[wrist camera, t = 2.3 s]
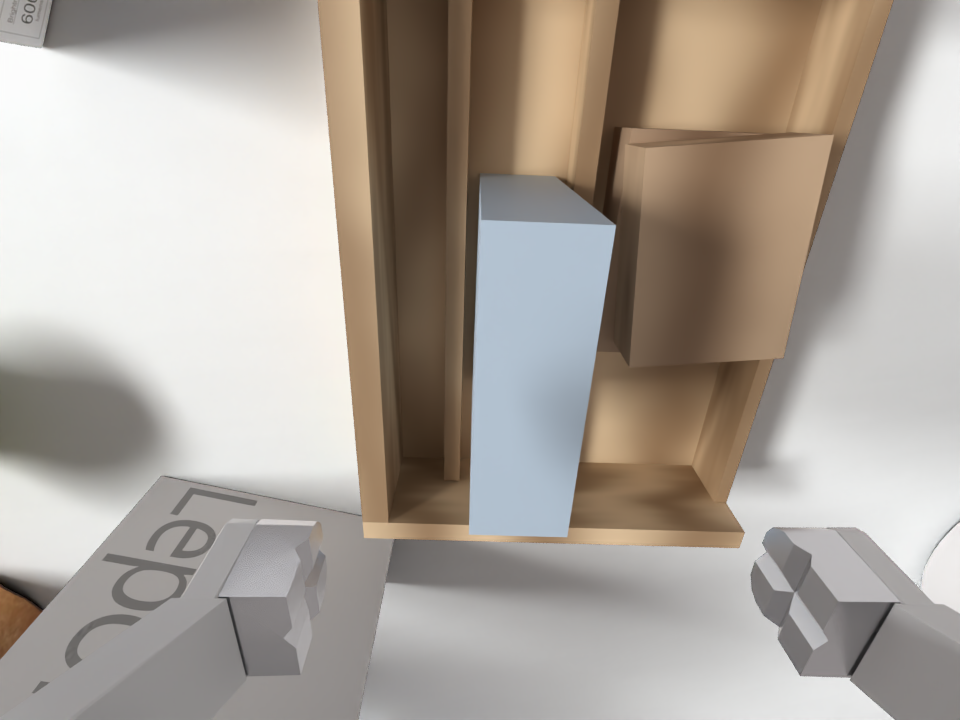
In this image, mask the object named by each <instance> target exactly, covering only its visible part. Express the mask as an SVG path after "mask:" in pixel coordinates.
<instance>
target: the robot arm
mask: <svg viewBox="0 0 960 720" xmlns="http://www.w3.org/2000/svg"><path fill="white" fill-rule="evenodd" d="M322 540H323V533H322V527H321V523H320V522H318V521H300V520H275V519H261V520H257V519H235V518H232V519H231V520H230V521H229V522H227V523H226V524H225V525H224V526H223V528H222V530H221V531H220V533H219V535H218V536H217V538H216V540H215V541H214V543H213V545H212V546H211V548H210V550H209V551H208V553H207V555H206V556H205V558H204V560H203V561H202V563H201V565H200V566H199V568H198V570H197V571H196V573H195V575H194V576H193V578H192V580H191V581H190V583H189V585H188V586H187V588H186V590H185V591H184V593H183V595H182V596H181V598H170V599H169V600H168V601H166V602H165V603H163V604H162V605H160V606H159V607H157V608H156V609H155V610H153V611H152V612H150V613H149V614H147V615H146V616H145V617H143V618H142V619H140V620H139V621H137V622H136V623H135V624H133V625H132V626H130V627H129V628H127V629H126V630H125V631H123V632H122V633H120V634H119V635H117V636H116V637H114V638H113V639H112V640H110V641H109V642H107V643H106V644H104V645H103V646H102V647H100V648H99V649H97V650H96V651H94V652H93V653H92V654H90V655H89V656H87V657H86V658H84V659H83V660H82V661H80V662H79V663H77V664H76V665H74V666H73V667H71V668H70V669H69V670H67V671H66V672H64V673H63V674H61V675H60V676H59V677H57V678H56V679H54V680H53V681H51V682H50V683H49V684H47V685H46V686H44V687H43V688H41V689H40V690H39V691H37V692H36V693H34V694H33V695H31V696H30V697H28V698H27V699H26V700H24V701H23V702H21V703H20V704H18V705H17V706H16V707H14V708H13V709H11V710H10V711H8V712H7V713H6V714H4V715H3V716H1V717H0V720H211V719H212V718H213V717H214V715H215V714H216V713H217V712H218V711H219V710H220V709H221V708H222V707H223V706H224V705H225V703H226V702H227V701H228V700H229V699H230V698H231V697H232V696H233V695H234V694H235V693H236V691H237V690H238V689H239V688H240V687H241V686H242V685H243V684H244V683H245V682H246V680H247V678H246V677H248V676H284V675H301V672H302V669H303V666H304V662H305V659H306V656H307V652H308V649H309V646H310V643H311V639H312V630H311V623H310V620H312V619H313V618H314V617H315V616H316V615H317V614H318V613H319V612H320V609H321V605H322V602H323V598H324V593H325V586H326V580H327V564H326V556H325V555H324V554H323V553H322V552H321V551H320V550H319V549H320V546H321V543H322ZM762 544H763V546H764V548H765V550H766V553H765V554H763V555H762V556H761V557H760V558H758V559H757V560H756V561H755V563H754V566H753V569H752V572H751V586H752V592H753V595H754V598H755V601H756V603H757V605H758V606H759V608H760V610H761V612H762V613H763V615H764V616H765V617H767V618H768V619H769V620H771V621H772V622H773V623H775V624H776V625H777V626H779V631H778V640H779V642H780V643H781V645H782V647H783V648H784V650H785V652H786V653H787V655H788V657H789V658H790V660H791V662H792V663H793V665H794V666H795V668H796V670H797V671H798V673H799V675H800V676H817V677H848V678H851V679H850V681H851V682H852V683H853V684H855V685H856V686H857V687H858V688H859V689H860V690H862V691H863V692H864V693H865V694H866V695H867V696H868V697H870V698H871V699H872V700H873V701H874V702H875V703H876V704H878V705H879V706H880V707H881V708H882V709H883V710H884V711H886V712H887V713H888V714H889V715H890V716H891V717H893V718H894V719H895V720H960V522H959V523H958V524H957V525H956V526H955V527H954V528H953V529H952V530H951V531H950V532H949V533H948V534H947V535H946V536H945V537H944V538H943V539H942V540H941V542H940V543H939V544H938V546H937V547H936V548H935V550H934V551H933V553H932V554H931V556H930V558H929V560H928V562H927V564H926V566H925V569H924V572H923V576H922V583H921V588H922V591H921V590H920V589H919V588H918V586H917V585H916V584H915V583H914V582H913V581H912V580H911V579H910V578H909V577H908V576H907V575H906V574H905V573H904V572H903V571H902V570H901V569H900V568H899V567H898V566H897V565H896V564H895V563H894V562H893V561H892V560H891V559H890V558H889V557H888V556H887V555H886V554H885V553H884V552H883V550H882V549H881V548H880V547H879V546H878V545H877V544H876V543H875V542H874V541H873V540H872V539H871V538H870V537H869V536H868V535H867V534H866V533H864V532H863V531H861V530H859V529H857V528H793V527H773V528H772V529H770V530H769V531H768V532H767V533H766V535H765V537H764V540H763V542H762Z"/></svg>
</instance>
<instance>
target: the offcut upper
mask: <svg viewBox="0 0 960 720" xmlns="http://www.w3.org/2000/svg"><path fill="white" fill-rule="evenodd" d="M833 137H834V135H830V134H812V133H794V132H787V133H773V134H759V135H745V136H731V137H717V138H703V139H689V140H675V141H661V142H647V143H632V144H625V157H624V174H623V192H622V209H621V226H620V244H619V261H618V278H617V295H616V313H615V330H614V343H615V344H616V346H617V348H618V349H619V351H620V353H621V354H622V356H623V358H624V360H625V361H626V363H627V365H628V366H629V367H646V366H663V365H680V364H697V363H714V362H730V361H747V360H764V359H781V358H784V353H785V349H786V345H787V340H788V336H789V331H790V327H791V322H792V318H793V314H794V309H795V305H796V300H797V296H798V292H799V287H800V283H801V278H802V274H803V269H804V265H805V261H806V256H807V252H808V247H809V243H810V238H811V234H812V230H813V225H814V221H815V216H816V212H817V207H818V203H819V199H820V194H821V190H822V185H823V181H824V177H825V172H826V168H827V163H828V159H829V154H830V150H831V146H832V141H833Z"/></svg>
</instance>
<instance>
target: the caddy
mask: <svg viewBox="0 0 960 720" xmlns="http://www.w3.org/2000/svg"><path fill="white" fill-rule="evenodd" d="M893 1H894V0H318V11H319V22H320V34H321V45H322V57H323V69H324V80H325V92H326V103H327V115H328V127H329V138H330V150H331V161H332V173H333V185H334V196H335V208H336V219H337V231H338V243H339V254H340V266H341V277H342V289H343V301H344V312H345V324H346V335H347V347H348V359H349V370H350V382H351V393H352V405H353V417H354V428H355V440H356V451H357V463H358V475H359V486H360V498H361V509H362V521H363V533H364V538H380V539H418V540H455V541H493V542H531V543H568V544H606V545H644V546H681V547H719V548H739V547H740V544H741V542H742V539H743V536H744V533H745V532H744V531H743V529H742V527H741V526H740V524H739V523H738V521H737V520H736V518H735V516H734V515H733V513H732V512H731V510H730V509H729V507H728V505H727V504H726V501H727V498H728V495H729V492H730V489H731V486H732V483H733V480H734V477H735V474H736V471H737V468H738V465H739V462H740V459H741V456H742V453H743V450H744V447H745V444H746V441H747V438H748V435H749V432H750V429H751V426H752V423H753V420H754V417H755V414H756V411H757V408H758V405H759V402H760V399H761V396H762V393H763V390H764V387H765V384H766V381H767V378H768V375H769V372H770V369H771V366H772V363H773V360H774V359H764V360H747V361H730V362H714V363H697V364H680V365H663V366H646V367H629V366H628V365H627V363H626V361H625V360H624V358H623V356H622V354H621V353H620V352H597V351H596V357H595V363H594V370H593V376H592V382H591V389H590V395H589V401H588V408H587V414H586V421H585V427H584V433H583V440H582V446H581V452H580V459H579V465H578V471H577V478H576V484H575V491H574V497H573V503H572V510H571V516H570V522H569V529H568V535H567V537H538V536H501V535H469V509H470V465H471V421H472V378H473V351H474V323H475V296H476V269H477V242H478V214H479V187H480V173H489V174H513V175H538V176H555V177H557V178H558V179H559V180H560V181H562V182H563V183H564V184H565V185H567V186H568V187H569V188H570V189H572V190H573V191H574V192H575V193H577V194H578V195H579V196H580V197H582V198H583V199H584V200H585V201H587V202H588V203H589V204H590V205H592V206H593V207H594V208H595V209H596V210H598V211H599V212H600V213H601V214H603V207H604V200H605V193H606V186H607V179H608V172H609V165H610V158H611V151H612V144H613V137H614V130H615V127H633V128H656V129H680V130H703V131H726V132H749V133H772V134H773V133H787V132H794V133H812V134H830V135H834V137H833V141H832V146H831V150H830V154H829V159H828V163H827V168H826V172H825V177H824V181H823V185H822V190H821V194H820V199H819V203H818V207H817V212H816V216H815V221H814V225H813V230H812V234H811V238H810V243H809V247H808V252H807V256H806V261H807V259H808V256H809V253H810V250H811V247H812V244H813V241H814V238H815V235H816V232H817V229H818V226H819V223H820V220H821V217H822V214H823V211H824V208H825V205H826V202H827V199H828V196H829V193H830V190H831V187H832V184H833V181H834V178H835V175H836V172H837V169H838V166H839V163H840V160H841V157H842V154H843V151H844V148H845V145H846V142H847V139H848V136H849V133H850V130H851V127H852V124H853V121H854V118H855V115H856V112H857V109H858V106H859V103H860V100H861V97H862V94H863V91H864V88H865V85H866V82H867V79H868V76H869V73H870V70H871V67H872V64H873V61H874V58H875V55H876V52H877V49H878V46H879V43H880V40H881V37H882V34H883V31H884V28H885V25H886V22H887V19H888V16H889V13H890V10H891V7H892V4H893ZM806 261H805V264H806ZM804 267H805V265H804ZM803 270H804V269H803Z"/></svg>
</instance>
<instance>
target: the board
mask: <svg viewBox="0 0 960 720" xmlns="http://www.w3.org/2000/svg"><path fill="white" fill-rule="evenodd" d="M615 230H616V225H615V224H614V223H613V222H611V221H610V220H609V219H608V218H606V217H605V216H604V215H603V214H601V213H600V212H599V211H598V210H596V209H595V208H594V207H593V206H592V205H590V204H589V203H588V202H587V201H585V200H584V199H583V198H582V197H580V196H579V195H578V194H577V193H575V192H574V191H573V190H572V189H570V188H569V187H568V186H567V185H565V184H564V183H563V182H562V181H560V180H559V179H558V178H557V177H555V176H538V175H513V174H489V173H480V187H479V214H478V242H477V269H476V296H475V323H474V351H473V378H472V421H471V465H470V509H469V535H501V536H538V537H567V535H568V529H569V522H570V516H571V510H572V503H573V497H574V491H575V484H576V478H577V471H578V465H579V459H580V452H581V446H582V440H583V433H584V427H585V421H586V414H587V408H588V401H589V395H590V389H591V382H592V376H593V370H594V363H595V357H596V351H597V344H598V338H599V331H600V325H601V319H602V312H603V306H604V300H605V293H606V287H607V280H608V274H609V268H610V261H611V255H612V249H613V242H614V236H615Z"/></svg>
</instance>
